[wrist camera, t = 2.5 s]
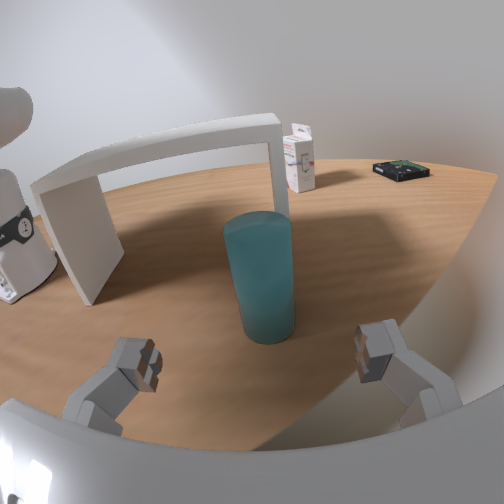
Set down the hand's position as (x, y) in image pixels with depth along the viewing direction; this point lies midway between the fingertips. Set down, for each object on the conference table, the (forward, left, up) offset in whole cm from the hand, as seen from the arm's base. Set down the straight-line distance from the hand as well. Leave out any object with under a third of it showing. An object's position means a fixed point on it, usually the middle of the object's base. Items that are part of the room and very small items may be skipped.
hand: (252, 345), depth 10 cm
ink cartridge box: (+8, +55, -14) cm, 57 cm away
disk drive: (+39, +61, -15) cm, 74 cm away
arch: (-12, +24, -14) cm, 31 cm away
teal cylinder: (0, +13, -14) cm, 19 cm away
